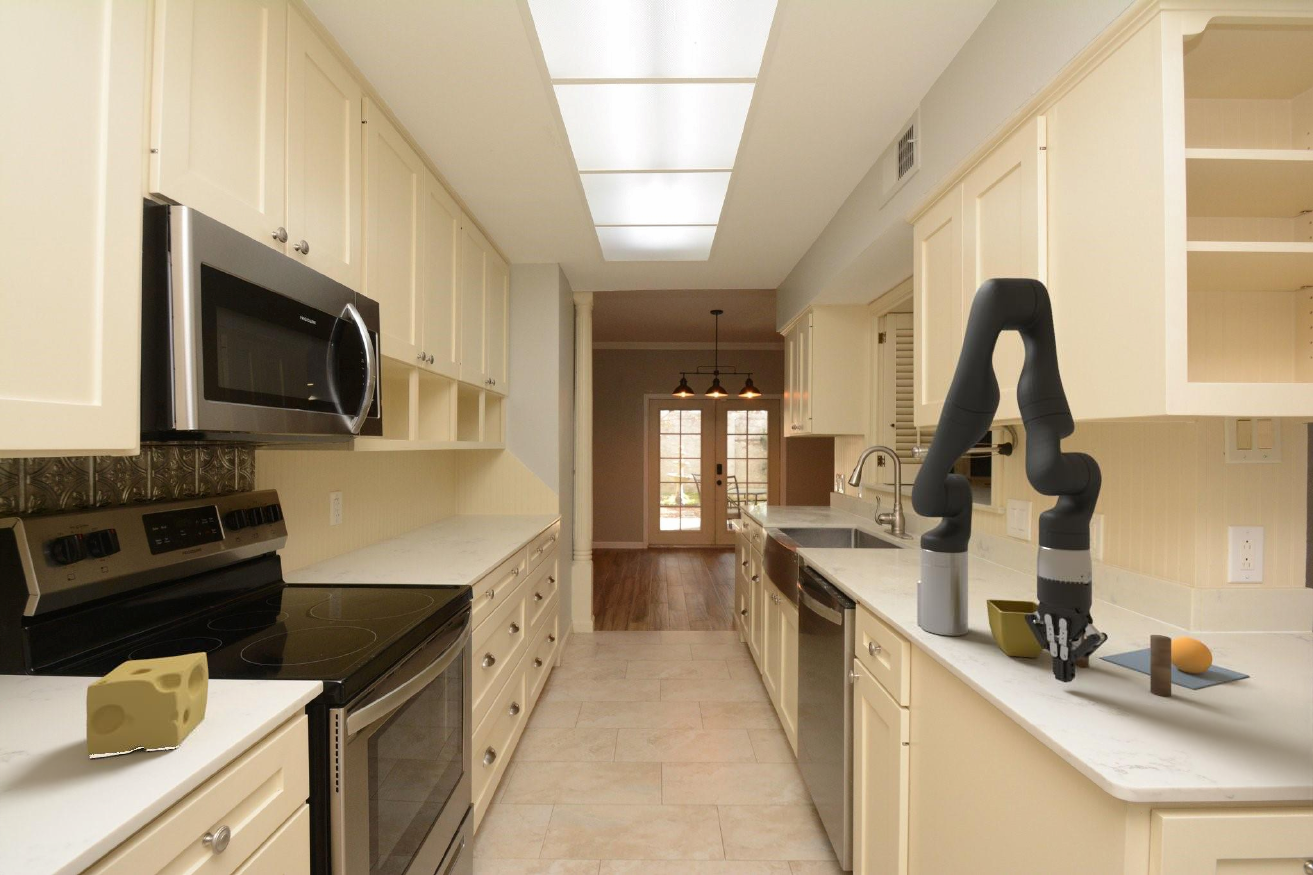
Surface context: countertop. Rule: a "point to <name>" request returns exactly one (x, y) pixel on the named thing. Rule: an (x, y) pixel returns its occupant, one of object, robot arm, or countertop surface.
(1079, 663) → the inner post
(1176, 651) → the ball
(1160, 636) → the outer post
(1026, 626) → the flower pot
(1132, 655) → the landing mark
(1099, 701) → the countertop surface
